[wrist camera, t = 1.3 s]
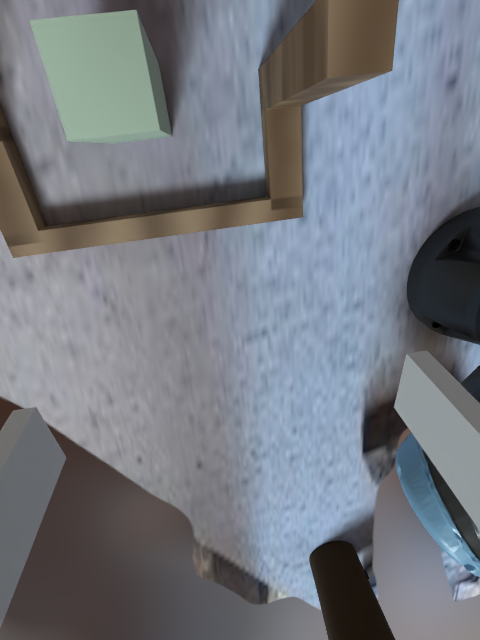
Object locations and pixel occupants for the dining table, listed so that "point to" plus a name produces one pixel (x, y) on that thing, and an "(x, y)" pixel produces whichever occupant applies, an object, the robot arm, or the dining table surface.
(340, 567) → the olive oil
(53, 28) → the tall green square pillar
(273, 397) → the dining table surface
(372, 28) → the frame
